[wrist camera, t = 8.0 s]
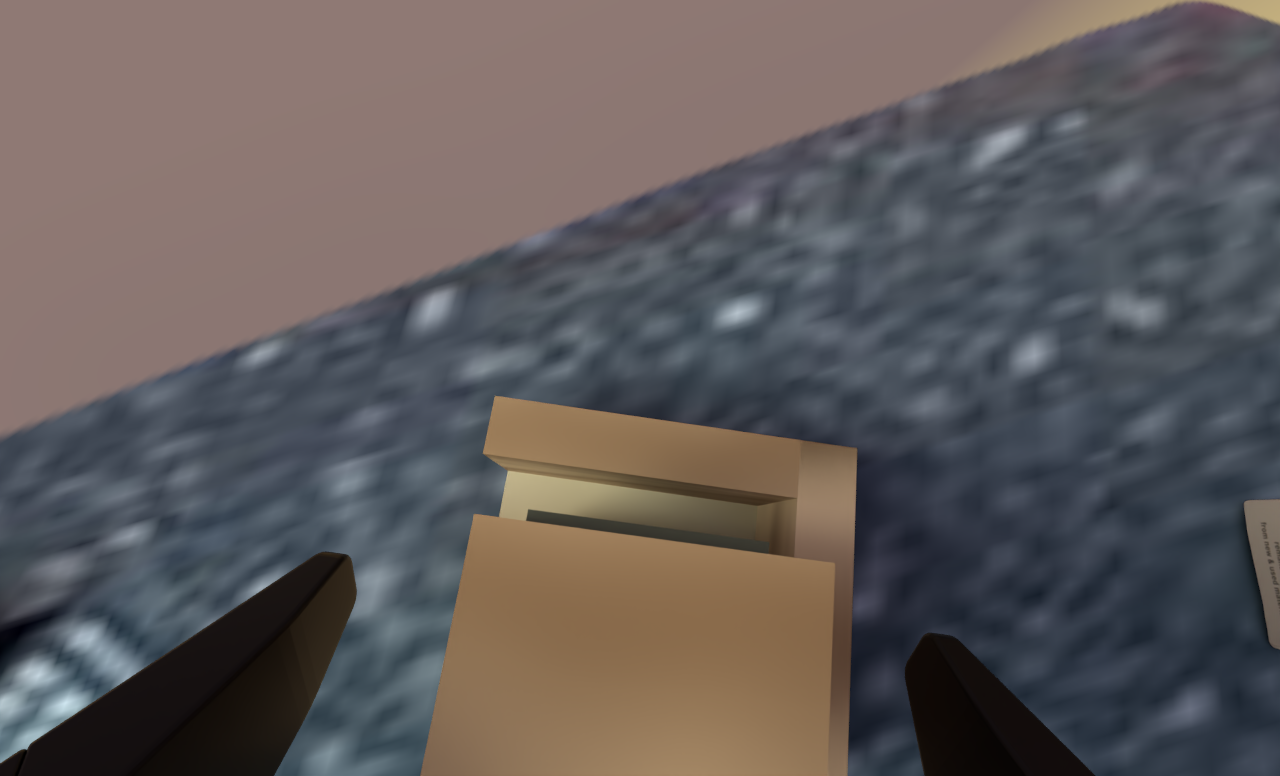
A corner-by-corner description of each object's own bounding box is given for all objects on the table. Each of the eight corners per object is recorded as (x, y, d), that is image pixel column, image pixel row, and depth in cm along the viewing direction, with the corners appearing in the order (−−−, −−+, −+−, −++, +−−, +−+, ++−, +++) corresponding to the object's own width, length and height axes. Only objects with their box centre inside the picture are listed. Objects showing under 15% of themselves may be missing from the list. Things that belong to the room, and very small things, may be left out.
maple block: (688, 727, 16) (818, 1016, 6) (516, 704, 16) (381, 966, 6) (706, 541, 17) (835, 548, 8) (548, 519, 17) (477, 498, 8)
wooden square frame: (785, 796, 16) (844, 880, 12) (454, 754, 16) (405, 826, 12) (804, 466, 18) (857, 448, 15) (517, 425, 18) (495, 396, 14)
